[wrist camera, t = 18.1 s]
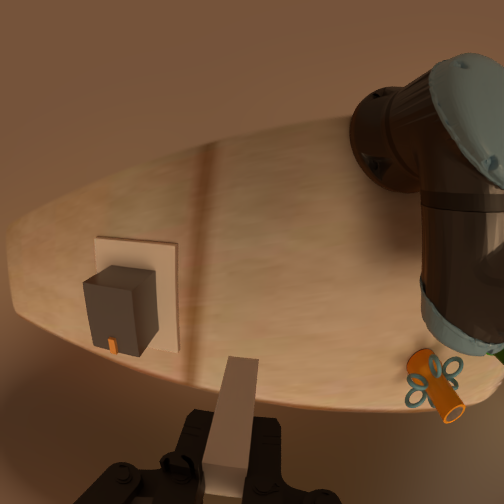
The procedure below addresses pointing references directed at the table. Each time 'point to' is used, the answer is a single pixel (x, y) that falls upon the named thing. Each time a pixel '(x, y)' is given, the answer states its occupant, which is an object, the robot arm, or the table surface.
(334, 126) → the table surface
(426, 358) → the orange tube with rings
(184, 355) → the table surface
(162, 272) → the board
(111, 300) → the dark grey block
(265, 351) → the table surface
